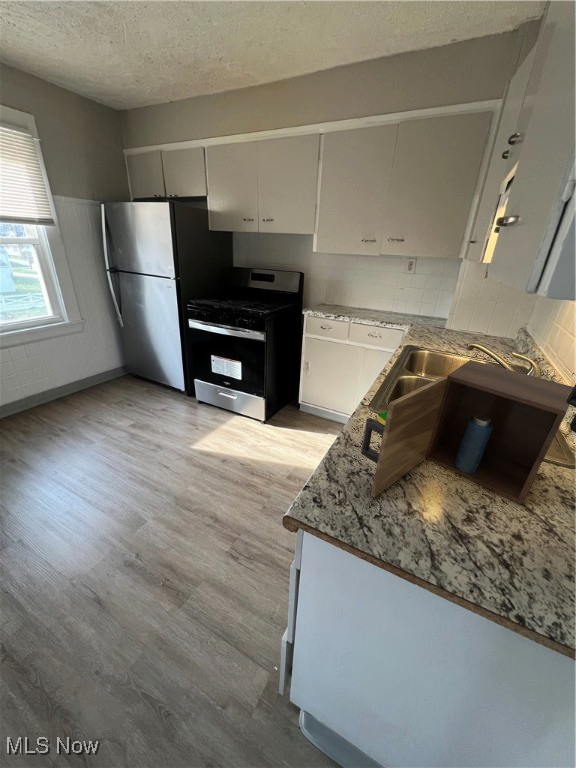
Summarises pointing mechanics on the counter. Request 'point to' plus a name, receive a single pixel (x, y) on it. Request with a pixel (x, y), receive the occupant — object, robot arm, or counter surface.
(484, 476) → the cupboard
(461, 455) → the water bottle
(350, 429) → the counter surface
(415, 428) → the cupboard door
